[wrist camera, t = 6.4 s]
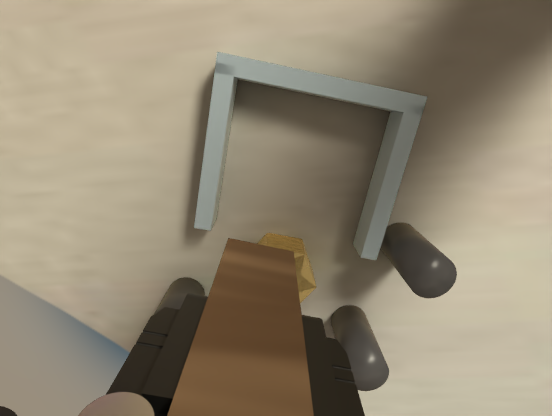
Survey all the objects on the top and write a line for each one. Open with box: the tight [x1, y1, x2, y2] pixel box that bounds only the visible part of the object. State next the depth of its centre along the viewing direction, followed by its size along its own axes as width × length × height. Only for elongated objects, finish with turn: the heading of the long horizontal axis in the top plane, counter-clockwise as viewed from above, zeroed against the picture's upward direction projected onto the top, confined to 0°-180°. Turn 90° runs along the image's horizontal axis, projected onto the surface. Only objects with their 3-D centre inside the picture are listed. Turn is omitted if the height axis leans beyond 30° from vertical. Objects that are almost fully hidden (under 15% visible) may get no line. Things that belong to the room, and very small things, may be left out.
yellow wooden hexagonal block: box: [257, 233, 316, 303], centre depth 26 cm, size 5×6×3 cm
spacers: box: [155, 223, 457, 391], centre depth 25 cm, size 14×19×6 cm
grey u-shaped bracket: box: [194, 52, 427, 260], centre depth 24 cm, size 12×13×2 cm
